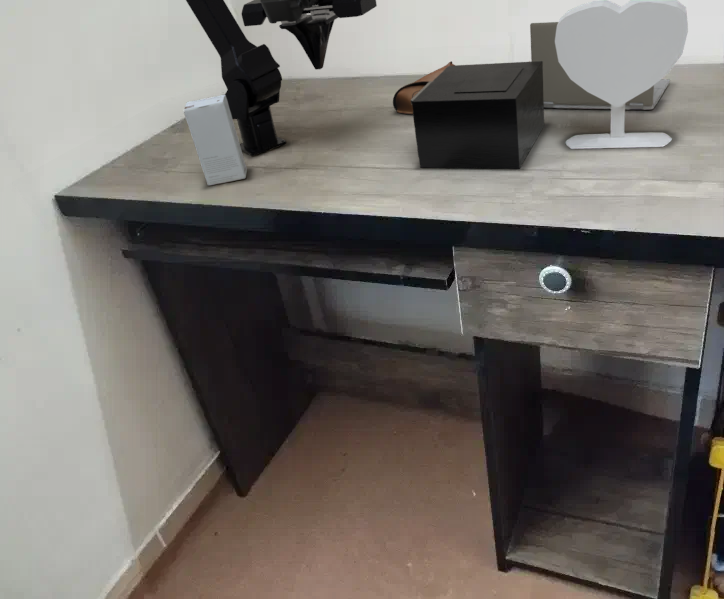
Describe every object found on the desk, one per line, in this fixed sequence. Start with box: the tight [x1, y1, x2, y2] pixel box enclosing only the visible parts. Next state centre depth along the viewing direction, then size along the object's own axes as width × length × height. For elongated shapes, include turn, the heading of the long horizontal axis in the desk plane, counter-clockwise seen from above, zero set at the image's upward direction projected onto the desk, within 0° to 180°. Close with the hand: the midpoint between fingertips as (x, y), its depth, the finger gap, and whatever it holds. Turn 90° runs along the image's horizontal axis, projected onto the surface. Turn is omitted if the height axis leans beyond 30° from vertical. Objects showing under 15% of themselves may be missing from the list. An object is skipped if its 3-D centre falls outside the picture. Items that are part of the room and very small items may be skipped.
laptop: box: [529, 21, 671, 111], centre depth 110 cm, size 18×12×13 cm
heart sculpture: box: [555, 0, 689, 150], centre depth 93 cm, size 16×5×18 cm, turn 70°
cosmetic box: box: [183, 94, 248, 186], centre depth 107 cm, size 6×4×12 cm
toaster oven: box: [411, 61, 545, 170], centre depth 102 cm, size 15×16×10 cm
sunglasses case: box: [392, 61, 455, 116], centre depth 126 cm, size 18×7×7 cm
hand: (319, 68), depth 105 cm, fingers closed
